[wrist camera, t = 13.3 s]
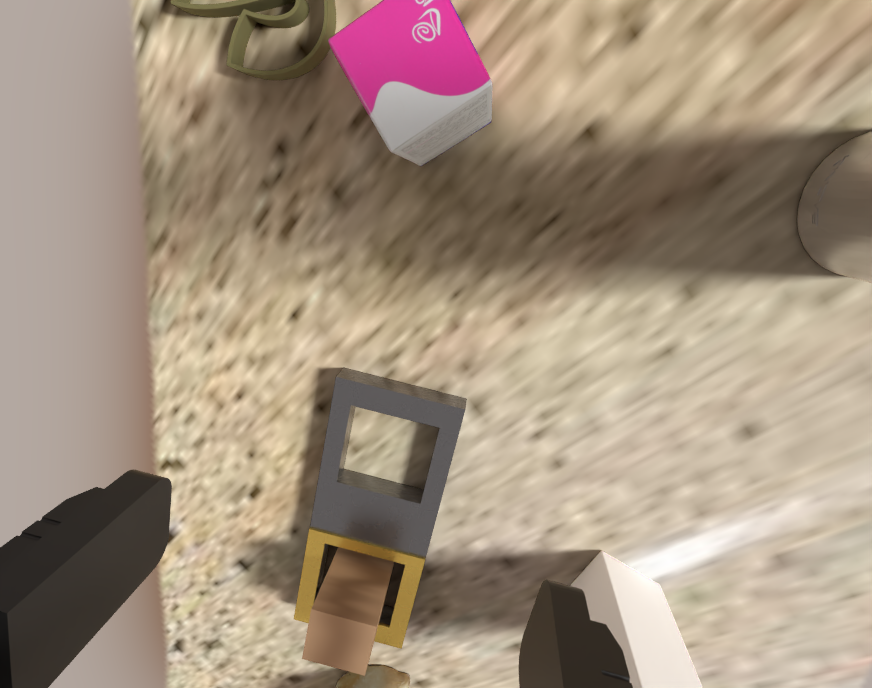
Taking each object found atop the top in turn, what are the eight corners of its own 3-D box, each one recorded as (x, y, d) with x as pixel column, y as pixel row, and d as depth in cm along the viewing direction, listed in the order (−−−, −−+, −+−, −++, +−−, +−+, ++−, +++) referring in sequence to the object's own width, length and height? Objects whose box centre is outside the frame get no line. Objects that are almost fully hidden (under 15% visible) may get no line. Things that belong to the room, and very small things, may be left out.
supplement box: (495, 120, 33) (496, 88, 23) (419, 168, 35) (385, 160, 24) (452, 35, 32) (431, -42, 21) (375, 89, 34) (318, 42, 23)
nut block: (396, 552, 45) (376, 626, 37) (386, 595, 46) (364, 675, 39) (342, 537, 45) (311, 609, 37) (333, 581, 46) (302, 658, 39)
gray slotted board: (466, 398, 40) (465, 410, 37) (405, 628, 47) (401, 648, 45) (343, 367, 40) (335, 377, 38) (302, 600, 47) (293, 619, 45)
